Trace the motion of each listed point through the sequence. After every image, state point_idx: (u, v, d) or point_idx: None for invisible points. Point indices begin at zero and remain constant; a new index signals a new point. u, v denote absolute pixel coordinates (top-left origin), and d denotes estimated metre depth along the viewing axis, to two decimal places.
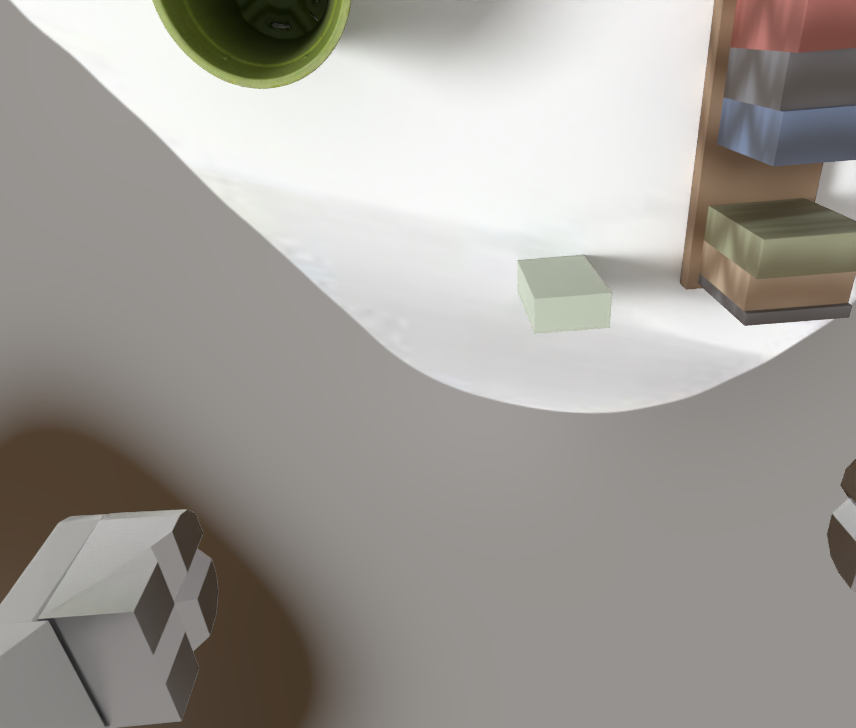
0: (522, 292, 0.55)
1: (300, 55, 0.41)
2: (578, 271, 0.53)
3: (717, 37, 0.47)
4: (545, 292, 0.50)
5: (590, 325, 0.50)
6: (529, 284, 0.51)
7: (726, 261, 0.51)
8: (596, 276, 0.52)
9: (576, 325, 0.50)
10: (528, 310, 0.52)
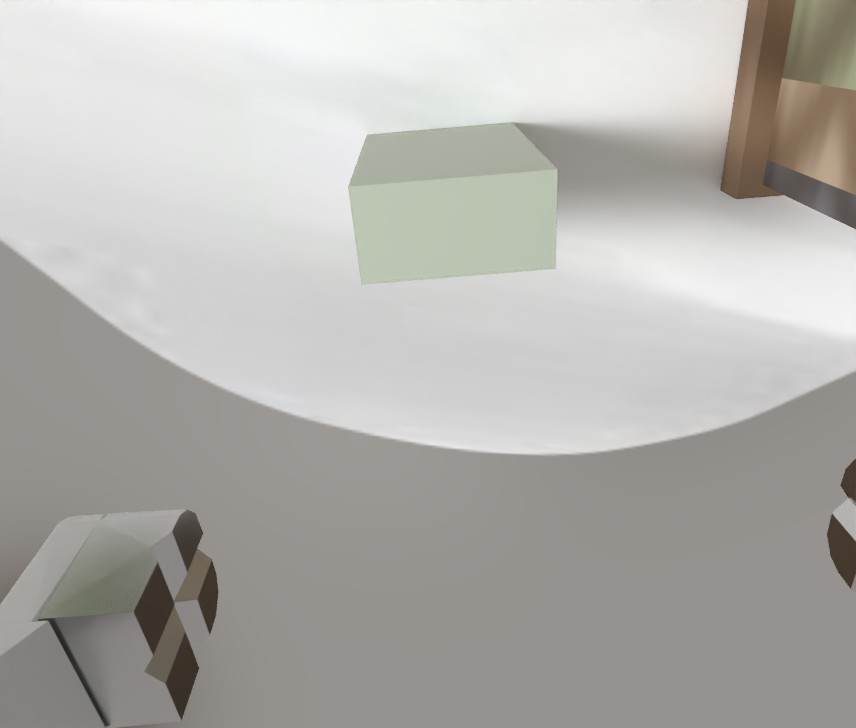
0: None
1: None
2: (489, 141, 0.22)
3: None
4: (387, 175, 0.19)
5: (505, 262, 0.19)
6: (359, 164, 0.21)
7: (854, 101, 0.20)
8: (527, 147, 0.21)
9: (468, 261, 0.19)
10: None
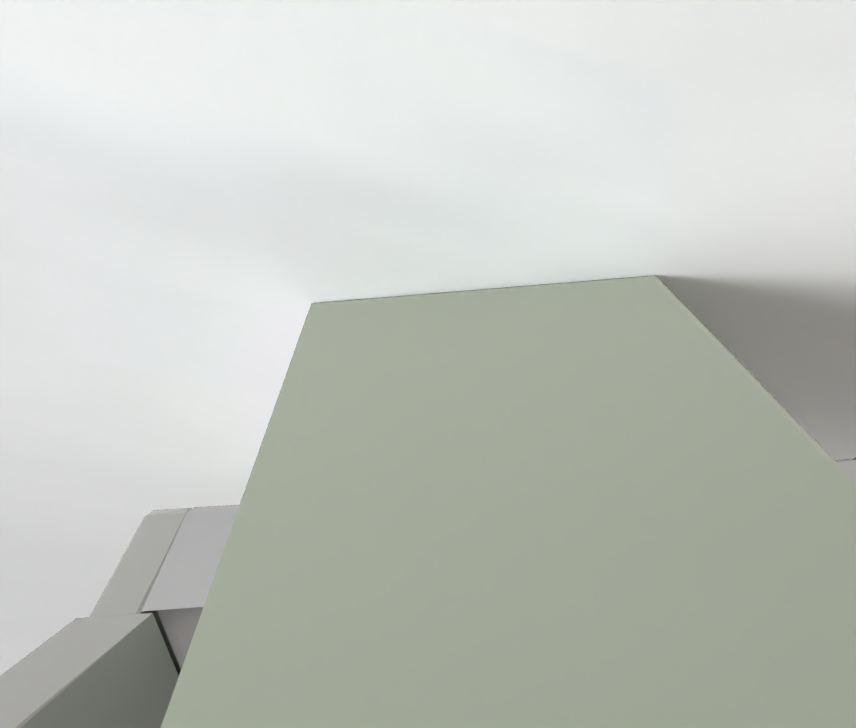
0: None
1: None
2: (651, 400, 0.07)
3: None
4: None
5: None
6: (231, 559, 0.06)
7: None
8: (821, 477, 0.06)
9: None
10: None
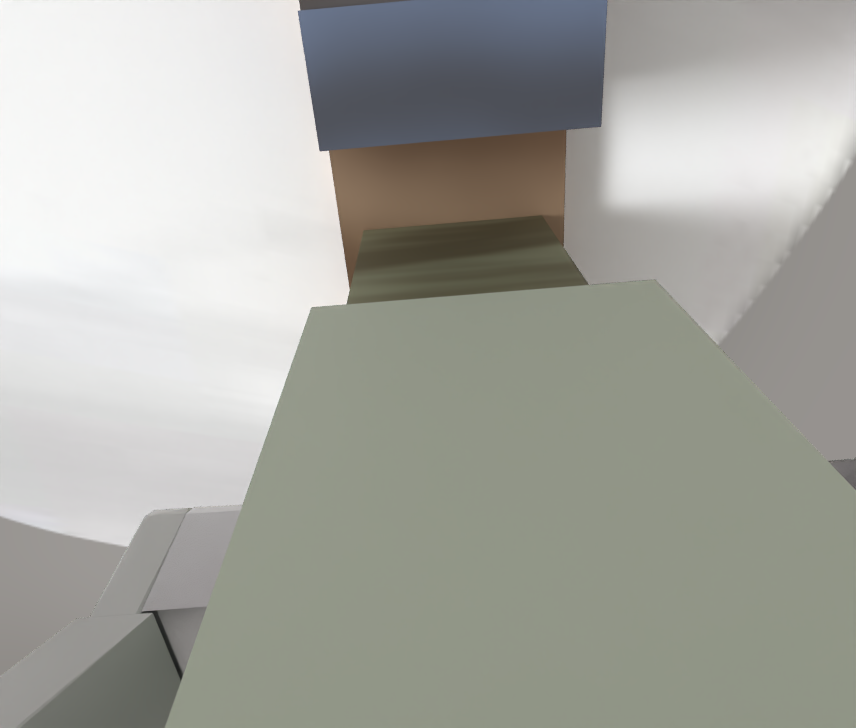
0: None
1: None
2: (650, 405, 0.08)
3: None
4: None
5: None
6: (232, 565, 0.06)
7: None
8: (819, 482, 0.06)
9: None
10: None
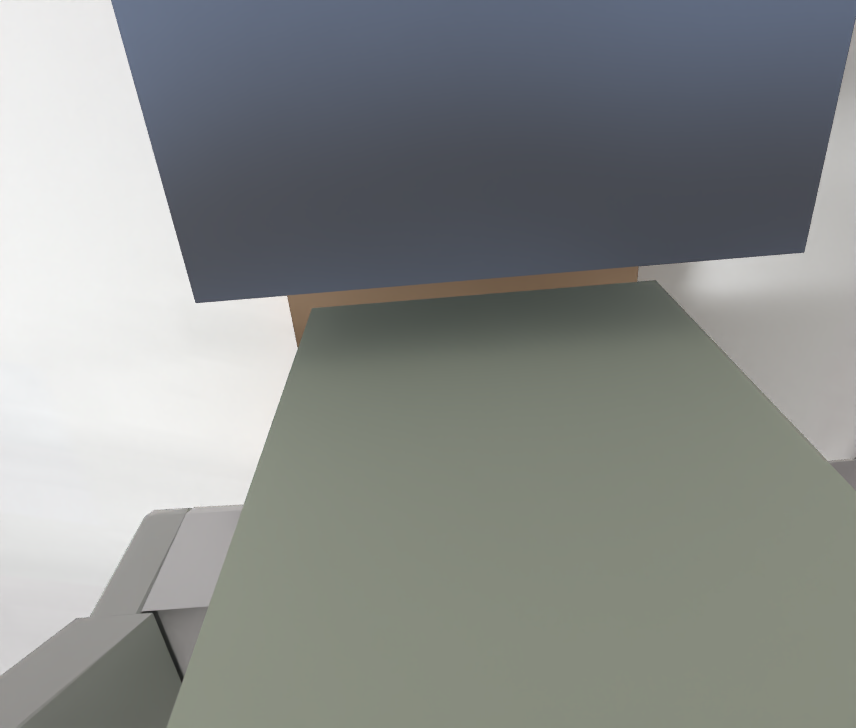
0: None
1: None
2: (651, 406, 0.08)
3: None
4: None
5: None
6: (233, 566, 0.06)
7: None
8: (819, 484, 0.06)
9: None
10: None
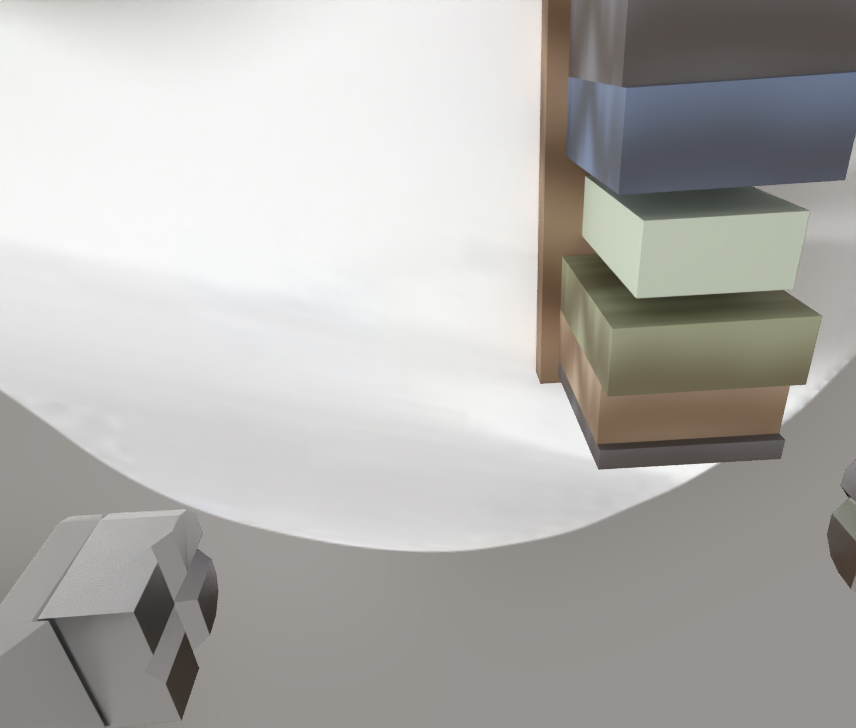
0: (597, 230, 0.29)
1: None
2: None
3: None
4: (663, 211, 0.24)
5: (754, 283, 0.24)
6: (622, 202, 0.26)
7: (579, 351, 0.30)
8: (755, 191, 0.26)
9: (725, 282, 0.24)
10: (616, 257, 0.26)
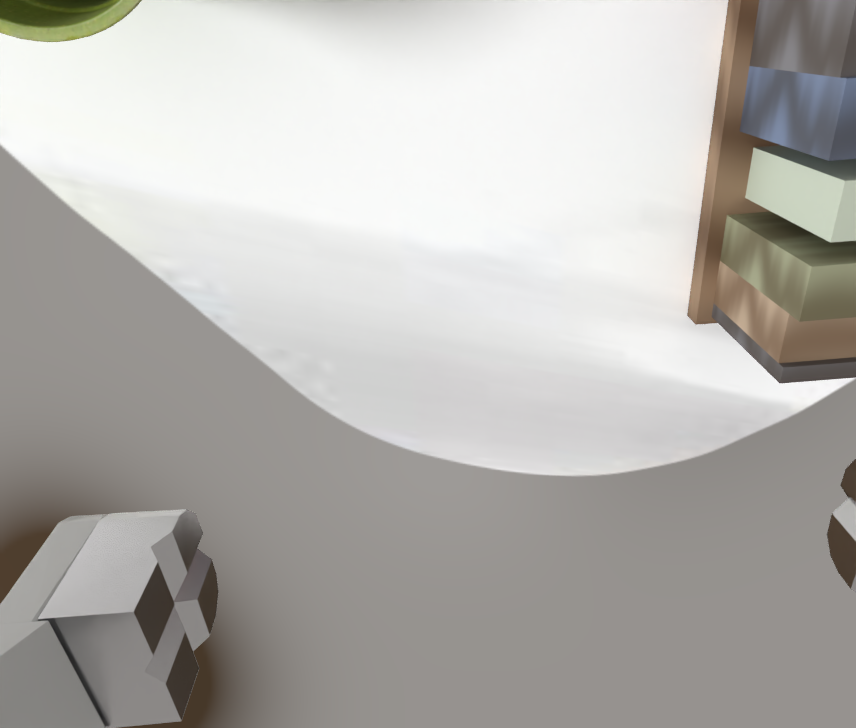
0: (771, 191, 0.36)
1: None
2: None
3: None
4: (854, 174, 0.31)
5: None
6: (811, 167, 0.32)
7: (752, 291, 0.37)
8: None
9: None
10: (801, 212, 0.33)
